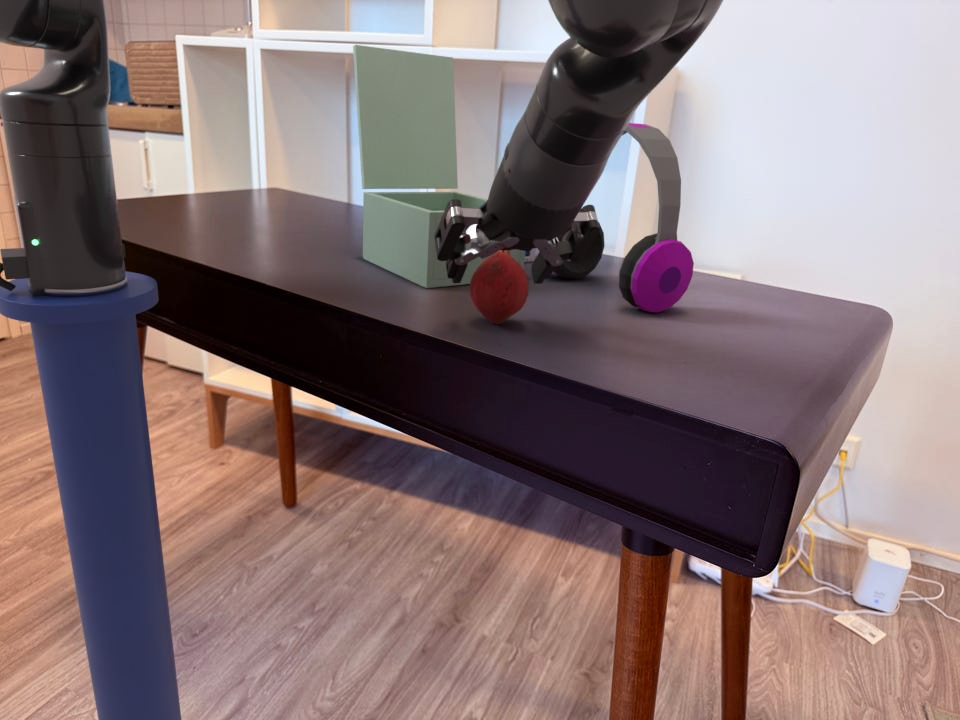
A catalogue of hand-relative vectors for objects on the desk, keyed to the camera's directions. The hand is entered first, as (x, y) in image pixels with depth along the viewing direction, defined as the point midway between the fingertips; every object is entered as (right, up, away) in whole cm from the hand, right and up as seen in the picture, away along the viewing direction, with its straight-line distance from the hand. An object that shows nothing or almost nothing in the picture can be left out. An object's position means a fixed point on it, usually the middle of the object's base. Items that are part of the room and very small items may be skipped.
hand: (496, 275), depth 67 cm
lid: (-11, +24, +23) cm, 35 cm away
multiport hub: (+2, +7, +34) cm, 35 cm away
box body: (-7, +4, +22) cm, 24 cm away
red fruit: (0, -5, +1) cm, 5 cm away
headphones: (+14, 0, +16) cm, 21 cm away
